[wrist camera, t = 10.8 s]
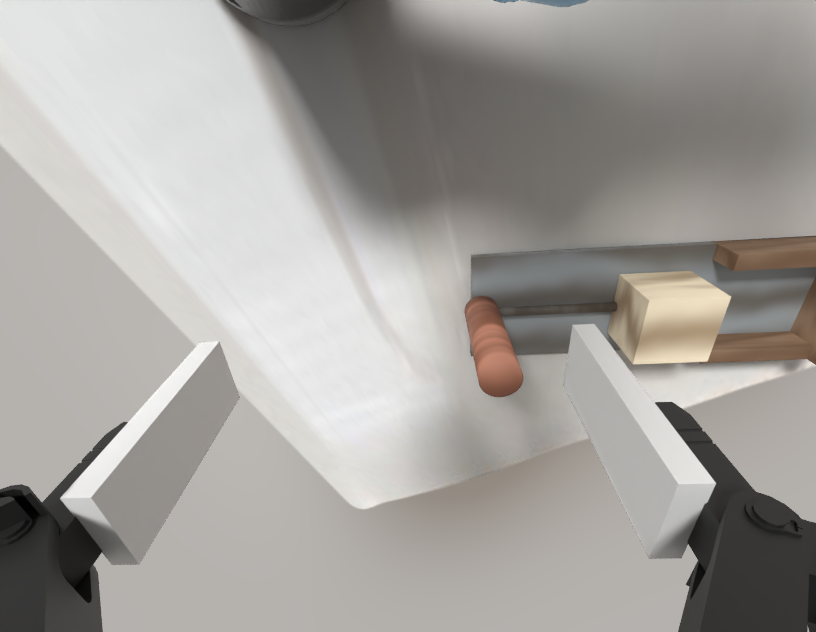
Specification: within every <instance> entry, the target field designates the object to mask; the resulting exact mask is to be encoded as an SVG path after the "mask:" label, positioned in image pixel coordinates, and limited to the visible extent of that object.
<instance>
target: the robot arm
mask: <svg viewBox="0 0 816 632" xmlns="http://www.w3.org/2000/svg"><path fill="white" fill-rule="evenodd" d="M226 1H227V2H229V3H230V4H231V5H233V6H234V7H236V8H238V9H239V10H241V11H243V12H245V13H247V14H249V15H251V16H253V17H255V18H257V19H260V20H262V21H265V22H268V23H272V24H276V25H282V26H301V25H307V24H311V23H314V22H317V21H320V20H322V19H324V18H326V17H328V16H329V15H331V14H333V13H334V12H335V11H337V10H338V9H339V8H341V7H342V6H343V5H344V4H345V3H346V2H347V1H348V0H226ZM494 1H497V2H500V3H506V2H516V1H518V0H494ZM521 1H527V2H533V3H539V4H545V5H550V6H556V7H569V6H572V5H575V4H580V3H585V2H587V1H588V0H521ZM563 385H564V387H565V389H566V391H567V393H568V395H569V397H570V399H571V402H572V404H573V406H574V408H575V410H576V412H577V414H578V416H579V418H580V420H581V422H582V424H583V426H584V428H585V430H586V432H587V434H588V436H589V438H590V440H591V442H592V444H593V446H594V448H595V450H596V452H597V454H598V456H599V458H600V460H601V462H602V464H603V466H604V468H605V470H606V472H607V474H608V476H609V479H610V481H611V483H612V485H613V487H614V489H615V491H616V493H617V495H618V497H619V499H620V501H621V503H622V505H623V507H624V509H625V511H626V513H627V515H628V517H629V519H630V521H631V523H632V525H633V527H634V529H635V531H636V533H637V535H638V537H639V539H640V541H641V543H642V545H643V547H644V549H645V551H646V553H647V555H648V557H649V559H650V558H651V559H652V558H682V556H683V554H684V551H685V549H686V547H687V545H688V544H689V546H690V547H691V549H692V551H693V552H694V554H695V556H696V557H697V559H698V562H697V564H696V566H695V568H694V570H693V572H692V574H691V576H690V578H689V580H688V582H687V583H686V585H688V586H689V587H690V588H689V592H688V595H687V600H686V603H685V607H684V611H683V615H682V619H681V623H680V626H679V631H678V632H807V624H808V628H809V632H816V523H814V522H809V521H806V520H803V519H801V518H800V517H799V516H798V515H797V514H796V513H795V512H794V511H792V510H791V509H790V508H789V507H788V506H786V505H785V504H783V503H781V502H779V501H778V500H776V499H774V498H772V497H770V496H767V495H764V494H761V493H758V492H756V491H755V490H754V489H752V487H751V486H750V485H749V484H748V482H747V481H746V480H745V479H744V478H743V477H742V475H741V474H740V473H739V472H738V470H737V469H736V468H735V467H734V466H733V465H732V463H731V462H730V461H729V460H728V459H727V457H726V456H725V455H724V454H723V453H722V452H721V451H720V449H719V448H718V447H717V446H716V444H713V443H712V440H711V439H710V437H709V436H708V435H707V434H706V433H705V432H703V431H702V428H701V427H700V426H699V424H698V423H697V422H696V421H695V420H694V418H693V417H692V416H691V415H690V414H689V413H687V412H686V411H684V410H683V409H682V408H680V407H679V406H677V405H676V404H674V403H673V402H655V403H654V401H653V400H652V399H651V397H650V396H649V395H648V393H647V392H646V391H645V389H644V388H643V387H642V386H641V384H640V383H639V382H638V380H637V379H636V378H635V376H634V375H633V374H632V372H631V371H630V370H629V368H628V367H627V366H626V365H625V363H624V362H623V361H622V359H621V358H620V357H619V355H618V354H617V353H616V351H615V350H614V349H613V348H612V346H611V345H610V344H609V342H608V341H607V340H606V338H605V337H604V336H603V334H602V333H601V332H600V330H599V329H598V328H597V327H596V325H595V324H579V325H572V332H571V338H570V345H569V351H568V358H567V364H566V371H565V378H564V384H563ZM239 398H240V396H239V394H238V391H237V388H236V386H235V383H234V380H233V377H232V375H231V372H230V369H229V366H228V364H227V361H226V358H225V356H224V353H223V350H222V347H221V345H220V342H200V343H199V344H198V345H197V346H196V347H195V349H194V350H193V351H192V352H191V353H190V354H189V355H188V356H187V357H186V359H185V360H184V361H183V362H182V363H181V364H180V365H179V366H178V367H177V369H176V370H175V371H174V372H173V373H172V374H171V375H170V377H168V379H167V380H166V381H165V382H164V383H163V384H162V385H161V386H160V387H159V389H158V390H157V391H156V392H155V393H154V394H153V395H152V396H151V397H150V399H149V400H148V401H147V402H146V403H145V404H144V405H143V406H142V408H141V409H140V410H139V411H138V412H137V413H136V414H135V415H134V416H133V418H132V419H131V420H130V421H129V422H123V423H122V424H120V425H119V426H117V427H116V428H114V429H113V430H111V431H110V432H109V433H107V434H106V435H105V436H104V437H103V438H102V439H101V440H100V441H99V442H98V443H97V444H96V446H95V447H94V448H93V451H90V452H89V453H88V454H87V455H86V456H85V457H84V458H83V460H82V463H79V464H78V465H77V466H76V467H75V468H74V469H73V470H72V471H71V472H70V473H69V474H68V476H67V477H66V478H65V479H64V480H63V481H62V482H61V483H60V484H59V485H58V486H57V488H55V489H54V491H53V492H52V493H51V494H50V495H49V496H48V497H47V498H46V499H45V500H44V501H43V502H41V501H40V500H39V499H38V498H37V497H36V495H35V494H34V493H33V492H32V490H31V489H30V488H29V487H28V486H24V485H14V486H9V487H6V488H3V489H1V490H0V632H103V631H102V619H101V606H100V593H99V581H98V572H97V571H96V568H95V567H94V565H93V564H94V562H95V561H96V560H97V558H98V557H99V555H100V554H101V552H102V553H103V554H104V555H105V557H106V558H107V559H108V560H109V562H110V563H111V564H112V565H126V564H127V565H129V564H130V565H132V564H133V565H134V564H135V565H136V564H140V562H141V561H142V559H143V557H144V556H145V554H146V552H147V551H148V549H149V547H150V546H151V544H152V542H153V541H154V539H155V537H156V536H157V534H158V532H159V531H160V529H161V528H162V526H163V524H164V522H165V521H166V519H167V518H168V516H169V514H170V513H171V511H172V509H173V507H174V506H175V504H176V503H177V501H178V499H179V498H180V496H181V494H182V493H183V491H184V489H185V488H186V486H187V484H188V483H189V481H190V479H191V478H192V476H193V474H194V473H195V471H196V469H197V468H198V466H199V464H200V463H201V461H202V459H203V458H204V456H205V454H206V453H207V451H208V449H209V448H210V446H211V444H212V443H213V441H214V440H215V438H216V436H217V435H218V433H219V431H220V429H221V428H222V426H223V425H224V423H225V421H226V420H227V418H228V416H229V414H230V413H231V411H232V410H233V408H234V406H235V405H236V403H237V401H238V400H239Z"/></svg>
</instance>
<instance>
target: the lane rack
mask: <svg viewBox="0 0 816 632" xmlns="http://www.w3.org/2000/svg"><path fill="white" fill-rule="evenodd" d="M673 271H692V272H693V273H695V274H697V275H698V276H700V277H701V278H703V279H704V280H706V281H707V282H709V283H711V284H712V285H714V286H715V287H717V288H718V289H720V290H722V291H723V292H725V293H726V294H728V295H729V296H731V299H730V302H729V305H728V307H727V310H726V313H725V316H724V318H723V321H722V324H721V326H720V329H719V332H718V335H717V337H716V340H715V343H714V345H713V348H712V351H711V353H710V356H709V359H708V362H700V363H715V362H741V361H767V360H793V359H808V360H809V361H811V362H812V363H814V364H815V365H816V236H804V237H786V238H768V239H750V240H732V241H714V242H696V243H678V244H660V245H642V246H625V247H607V248H589V249H571V250H553V251H535V252H517V253H499V254H481V255H471V299H473V298H475V297H478V296H487V297H490V298H492V299H493V300H494V301H495V302H496V304H497V306H498V308H500V307H520V306H541V305H562V304H583V303H604V302H614V298H615V294H616V289H617V284H618V279H619V274H634V273H654V272H673ZM611 313H612V312H592V313H570V314H549V315H527V316H506V317H502V320H503V322H504V325H505V328H506V330H507V333H508V336H509V339H510V341H511V344H512V347H513V349H514V352H515V354H535V353H560V352H568V351H569V345H570V338H571V332H572V325H579V324H595V325H596V327H597V328H598V329H599V330H600V332H601V333H602V334H603V336H604V337H605V338H606V340H607V341H608V342H609V344H610V345H611V346H612V348H613V349H614V350H621V349H620V348H619V346H618V345H617V344H616V342H615V341H614V340H613V339H612V337H611V336H610V335H609V334H608V327H609V323H610V318H611ZM470 353H471V356H473V351H472V346H471V341H470Z"/></svg>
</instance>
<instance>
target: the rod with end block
mask: <svg viewBox="0 0 816 632" xmlns="http://www.w3.org/2000/svg"><path fill="white" fill-rule="evenodd" d="M730 299H731V296H729V295H728V294H726V293H725V292H723V291H722V290H720V289H718V288H717V287H715V286H714V285H712V284H711V283H709V282H707V281H706V280H704V279H703V278H701V277H700V276H698V275H697V274H695V273H693V272H692V271H673V272H654V273H634V274H619V279H618V284H617V289H616V294H615V298H614V302H604V303H583V304H562V305H541V306H520V307H500V308H498V306H497V304H496V302H495V301H494V300H493V299H492V298H490V297H487V296H478V297H475V298H473V299H471V300H470V301H469V302H468V303H467V305H466V307H465V317H466V322H467V327H468V332H469V336H470V341H471V346H472V351H473V356H474V361H475V366H476V371H477V376H478V381H479V385H480V388H481V389H482V390H483V391H484V392H485V393H486V394H488V395H490V396H494V397H504V396H508V395H511V394H513V393H514V392H516V391H517V390H518V389H519V388H520V386H521V385H522V382H523V374H522V371H521V368H520V366H519V363H518V360H517V358H516V355H515V352H514V349H513V347H512V344H511V341H510V339H509V336H508V333H507V330H506V328H505V325H504V322H503V320H502V317H506V316H527V315H549V314H570V313H592V312H612V313H611V318H610V323H609V327H608V334H609V335H610V336H611V337H612V339H613V340H614V341H615V342H616V344H617V345H618V346H619V348H620V349H621V350H622V351H623V353H624V354H625V355H626V356H627V358H628V359H629V360H630V361H631V363H632V364H658V363H684V362H708V359H709V356H710V353H711V351H712V348H713V345H714V343H715V340H716V337H717V335H718V332H719V329H720V326H721V324H722V321H723V318H724V316H725V313H726V310H727V307H728V305H729V302H730Z"/></svg>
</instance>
